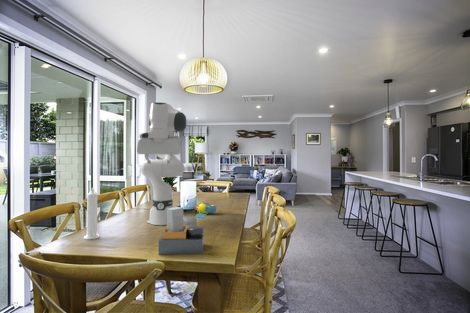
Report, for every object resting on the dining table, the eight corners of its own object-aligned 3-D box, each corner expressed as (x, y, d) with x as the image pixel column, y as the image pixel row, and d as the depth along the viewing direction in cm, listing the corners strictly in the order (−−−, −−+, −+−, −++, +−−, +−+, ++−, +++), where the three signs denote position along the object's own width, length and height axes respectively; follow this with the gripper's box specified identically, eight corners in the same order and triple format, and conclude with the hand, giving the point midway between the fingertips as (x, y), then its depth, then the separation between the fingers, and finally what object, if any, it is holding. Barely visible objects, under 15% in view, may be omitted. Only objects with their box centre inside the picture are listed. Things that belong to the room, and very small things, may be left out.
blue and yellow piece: (200, 198, 198) (220, 199, 196) (200, 210, 198) (219, 211, 196) (189, 205, 170) (211, 206, 168) (189, 218, 170) (211, 219, 168)
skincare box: (177, 233, 116) (177, 206, 116) (183, 234, 113) (183, 207, 113) (166, 236, 111) (166, 208, 111) (172, 238, 108) (172, 209, 108)
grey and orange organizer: (164, 244, 117) (164, 225, 117) (203, 244, 119) (203, 224, 119) (158, 254, 105) (158, 232, 105) (202, 253, 107) (202, 232, 107)
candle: (85, 236, 129) (85, 186, 129) (100, 234, 132) (101, 186, 132) (82, 240, 123) (82, 188, 123) (98, 238, 125) (99, 187, 125)
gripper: (181, 136, 127) (181, 163, 127) (139, 135, 126) (139, 163, 126) (180, 135, 121) (180, 164, 121) (136, 134, 119) (135, 164, 119)
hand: (159, 164), depth 123 cm, fingers open, 8 cm apart
